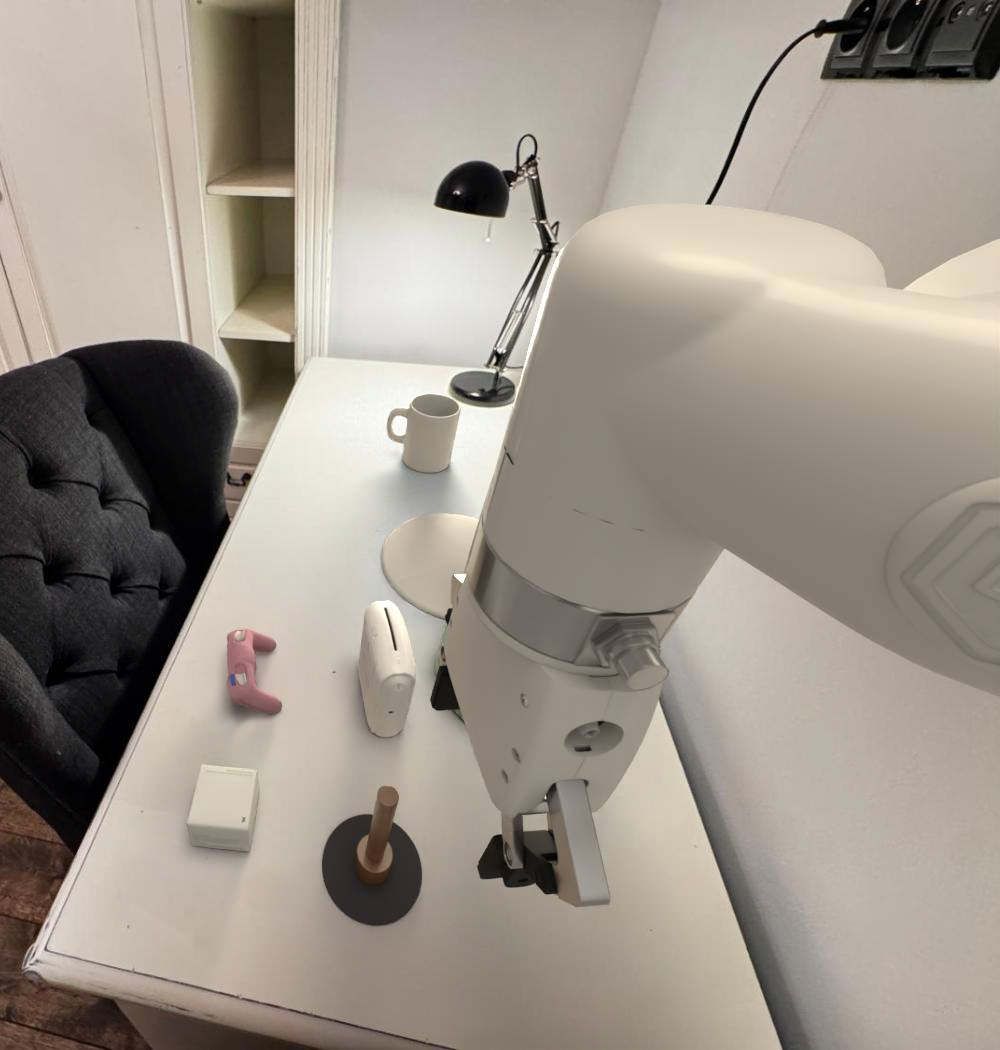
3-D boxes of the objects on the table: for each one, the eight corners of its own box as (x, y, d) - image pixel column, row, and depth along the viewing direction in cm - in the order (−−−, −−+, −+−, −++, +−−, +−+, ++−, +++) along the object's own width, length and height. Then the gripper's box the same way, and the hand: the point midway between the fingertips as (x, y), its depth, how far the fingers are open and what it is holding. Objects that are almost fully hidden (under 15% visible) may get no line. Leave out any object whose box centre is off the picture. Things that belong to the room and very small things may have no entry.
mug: (453, 452, 104) (464, 397, 97) (446, 477, 98) (457, 421, 91) (388, 440, 107) (395, 386, 100) (378, 464, 101) (384, 409, 94)
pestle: (397, 871, 51) (418, 801, 42) (369, 893, 50) (385, 826, 41) (374, 839, 53) (390, 766, 44) (347, 859, 52) (358, 789, 43)
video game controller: (247, 654, 71) (217, 624, 67) (279, 641, 70) (251, 610, 66) (250, 726, 64) (217, 697, 59) (286, 713, 63) (255, 683, 58)
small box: (260, 791, 57) (258, 768, 54) (251, 853, 52) (248, 832, 49) (204, 786, 57) (199, 762, 54) (190, 847, 53) (183, 825, 50)
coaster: (442, 882, 51) (443, 881, 50) (363, 950, 47) (363, 949, 47) (378, 797, 56) (378, 795, 56) (303, 851, 53) (303, 850, 52)
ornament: (455, 623, 73) (483, 524, 63) (359, 590, 78) (369, 493, 67) (488, 523, 89) (515, 430, 78) (406, 501, 93) (421, 409, 82)
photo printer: (407, 738, 61) (424, 669, 53) (368, 740, 61) (379, 672, 53) (389, 659, 69) (402, 589, 61) (354, 661, 69) (362, 591, 61)
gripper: (838, 788, 16) (612, 953, 27) (568, 447, 29) (491, 653, 40) (575, 808, 15) (456, 968, 26) (422, 452, 28) (386, 659, 39)
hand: (477, 778), depth 33 cm, fingers open, 9 cm apart
